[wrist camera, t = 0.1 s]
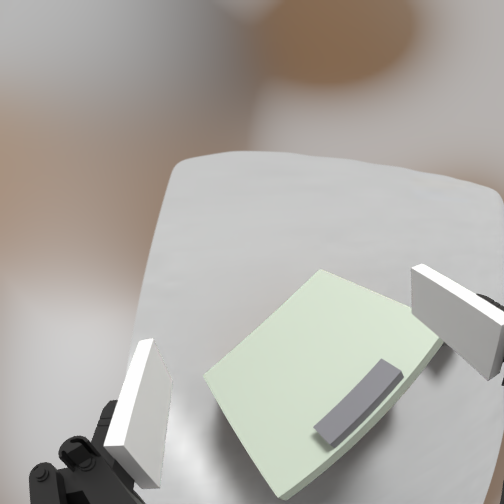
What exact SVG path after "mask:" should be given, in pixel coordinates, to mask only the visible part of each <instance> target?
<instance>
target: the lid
mask: <svg viewBox="0 0 504 504" xmlns="http://www.w3.org/2000/svg"><path fill="white" fill-rule="evenodd" d="M443 343H444V341H443V340H442V339H441V338H439V337H438V336H437V335H436V334H435V333H434V332H433V331H431V330H430V329H429V328H428V327H427V326H426V325H424V324H423V323H422V322H421V321H420V320H419V319H417V318H416V317H415V316H414V315H413V314H412V308H411V307H408V306H406V305H404V304H401V303H399V302H397V301H394V300H392V299H390V298H387V297H385V296H383V295H381V294H378V293H376V292H374V291H371V290H369V289H367V288H364V287H362V286H360V285H357V284H355V283H352V282H350V281H348V280H345V279H343V278H341V277H338V276H336V275H334V274H331V273H329V272H327V271H324V270H322V269H319V270H318V271H317V272H316V273H315V274H314V275H313V276H312V277H311V278H310V279H309V280H308V281H307V282H306V283H305V284H304V285H303V286H302V287H301V288H300V289H298V290H297V291H296V292H295V293H294V294H293V295H292V296H291V297H290V298H289V299H288V300H287V301H286V302H285V303H284V304H283V305H281V306H280V307H279V308H278V309H277V310H276V311H275V312H274V313H273V314H272V315H271V316H270V317H269V318H267V319H266V320H265V321H264V322H263V323H262V324H261V325H260V326H259V327H258V328H256V329H255V330H254V331H253V332H252V333H251V334H250V335H249V336H248V337H246V338H245V339H244V340H243V341H242V342H241V343H240V344H239V345H237V346H236V347H235V348H234V349H233V350H232V351H231V352H229V353H228V354H227V355H226V356H225V357H224V358H223V359H221V360H220V361H219V362H218V363H217V364H216V365H214V366H213V367H212V368H211V369H210V370H209V371H207V372H206V373H205V374H204V375H203V377H204V379H205V381H206V382H207V384H208V386H209V388H210V390H211V392H212V393H213V395H214V397H215V399H216V401H217V402H218V404H219V406H220V408H221V409H222V411H223V413H224V415H225V416H226V418H227V420H228V421H229V423H230V425H231V426H232V428H233V430H234V431H235V433H236V435H237V436H238V438H239V440H240V441H241V443H242V445H243V446H244V448H245V449H246V451H247V453H248V454H249V456H250V457H251V459H252V460H253V462H254V464H255V465H256V467H257V468H258V470H259V471H260V473H261V474H262V476H263V477H264V479H265V480H266V482H267V483H268V485H269V486H270V487H271V489H272V490H273V492H274V493H275V495H276V496H277V497H278V498H280V499H283V500H286V501H287V500H288V499H289V498H291V497H292V496H294V495H295V494H296V493H298V492H299V491H300V490H302V489H303V488H304V487H306V486H307V485H308V484H309V483H311V482H312V481H313V480H315V479H316V478H317V477H318V476H319V475H321V474H322V473H323V472H324V471H326V470H327V469H328V468H329V467H330V466H331V465H333V464H334V463H335V462H336V461H337V460H338V459H340V458H341V457H342V456H343V455H344V454H345V453H346V452H347V451H348V450H350V449H351V448H352V447H353V446H354V445H355V444H356V443H357V442H358V441H359V440H360V439H361V438H362V437H363V436H364V435H365V434H366V433H367V432H368V431H369V430H370V429H371V428H372V427H373V426H374V425H375V424H376V423H377V422H378V421H379V420H380V419H381V418H382V417H383V416H384V415H385V414H386V413H387V412H388V411H389V410H390V408H391V407H392V406H393V405H394V404H395V403H396V402H397V401H398V400H399V398H400V397H401V396H402V395H403V394H404V393H405V391H406V390H407V389H408V388H409V387H410V386H411V384H412V383H413V382H414V381H415V379H416V378H417V377H418V376H419V375H420V373H421V372H422V371H423V370H424V368H425V367H426V366H427V364H428V363H429V362H430V360H431V359H432V358H433V356H434V355H435V354H436V352H437V351H438V350H439V348H440V347H441V346H442V344H443Z"/></svg>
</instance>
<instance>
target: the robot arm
mask: <svg viewBox="0 0 504 504" xmlns="http://www.w3.org/2000/svg"><path fill="white" fill-rule="evenodd" d="M411 284H412V314H413V315H414V316H415V317H416V318H417V319H419V320H420V321H421V322H422V323H423V324H424V325H426V326H427V327H428V328H429V329H430V330H431V331H433V332H434V333H435V334H436V335H437V336H438V337H439V338H441V339H442V340H443V341H444V342H445V343H446V344H447V345H449V346H450V347H451V348H452V349H453V350H454V351H455V352H457V353H458V354H459V355H460V356H461V357H462V358H463V359H464V360H465V361H467V362H468V363H469V364H470V365H471V366H472V367H473V368H474V369H475V370H476V371H478V372H479V373H480V374H481V375H482V376H483V377H484V378H485V379H486V380H487V381H489V380H490V379H492V378H493V377H495V376H496V375H497V374H499V373H500V370H501V366H502V363H503V362H504V306H502V305H500V304H499V303H497V302H494V300H492V299H491V298H489V297H487V296H484V295H481V294H474V293H473V292H471V291H469V290H468V289H466V288H464V287H462V286H461V285H459V284H457V283H456V282H454V281H452V280H450V279H449V278H447V277H445V276H443V275H442V274H440V273H438V272H436V271H435V270H433V269H431V268H429V267H427V266H426V265H424V264H420V265H417V266H414V267H412V268H411ZM502 386H504V378H503V381H502ZM172 388H173V380H172V377H171V375H170V373H169V371H168V369H167V367H166V365H165V363H164V360H163V358H162V356H161V354H160V352H159V349H158V347H157V345H156V343H155V340H154V338H152V339H147V340H142V341H139V343H138V346H137V348H136V351H135V354H134V356H133V359H132V362H131V364H130V367H129V370H128V373H127V376H126V378H125V381H124V384H123V387H122V390H121V393H120V396H119V399H118V400H113V401H110V402H109V403H108V404H107V405H106V406H105V407H104V409H103V411H102V413H101V416H100V420H99V421H98V424H97V427H96V430H95V433H94V436H93V438H92V441H91V442H90V441H89V440H88V439H87V438H86V437H83V436H74V437H72V438H69V439H68V440H66V441H65V442H64V443H63V444H62V445H61V447H60V449H59V458H60V459H61V460H62V461H63V462H64V463H65V465H67V467H68V468H64V469H59V470H57V469H56V468H55V467H54V466H53V465H52V464H51V463H47V462H45V463H40V464H38V465H36V466H35V467H34V468H33V469H32V471H31V473H30V476H29V488H30V502H31V504H146V503H145V502H144V501H143V500H142V499H141V497H140V496H139V495H138V494H137V493H136V492H135V491H134V490H133V487H134V481H135V482H136V483H137V484H138V485H139V486H140V488H141V489H155V488H160V486H161V476H162V466H163V457H164V448H165V440H166V432H167V424H168V416H169V409H170V402H171V395H172ZM500 504H504V482H503V489H502V496H501V501H500Z"/></svg>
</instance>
